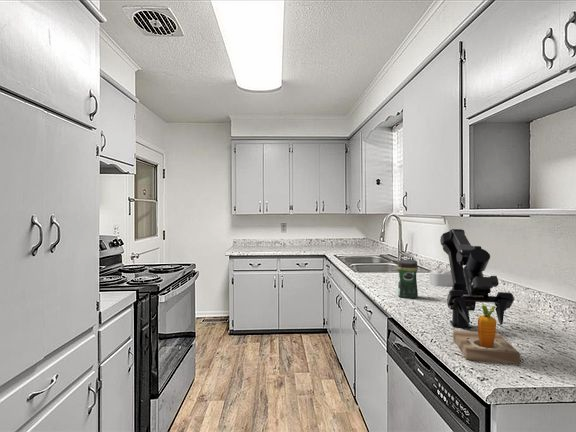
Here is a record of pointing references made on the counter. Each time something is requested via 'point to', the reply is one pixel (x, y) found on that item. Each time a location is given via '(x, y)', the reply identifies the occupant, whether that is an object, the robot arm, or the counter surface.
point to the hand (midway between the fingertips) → (485, 323)
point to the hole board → (474, 351)
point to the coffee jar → (407, 279)
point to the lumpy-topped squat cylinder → (441, 278)
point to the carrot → (486, 328)
